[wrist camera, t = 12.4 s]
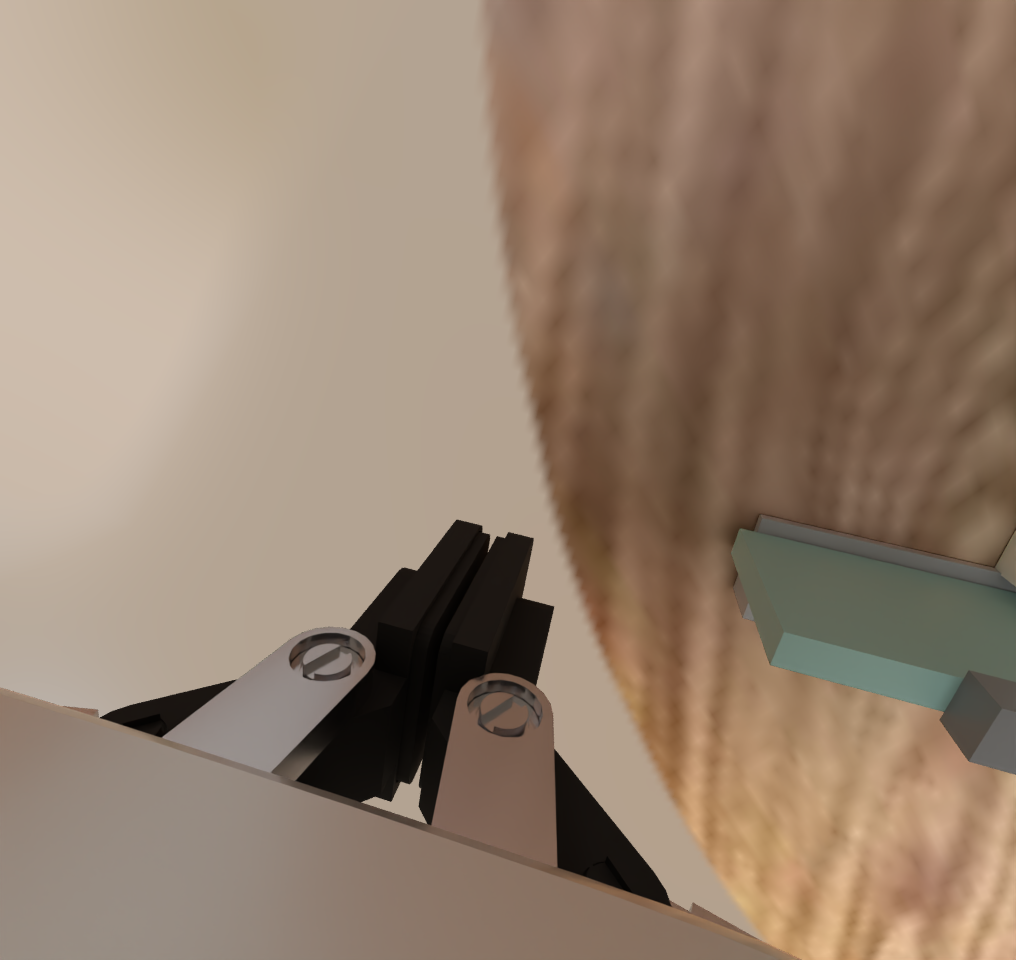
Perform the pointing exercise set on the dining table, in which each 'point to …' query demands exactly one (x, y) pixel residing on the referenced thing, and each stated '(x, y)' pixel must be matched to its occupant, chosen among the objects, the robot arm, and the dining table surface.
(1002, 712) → the gate
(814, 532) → the housing
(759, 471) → the dining table surface
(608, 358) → the dining table surface
